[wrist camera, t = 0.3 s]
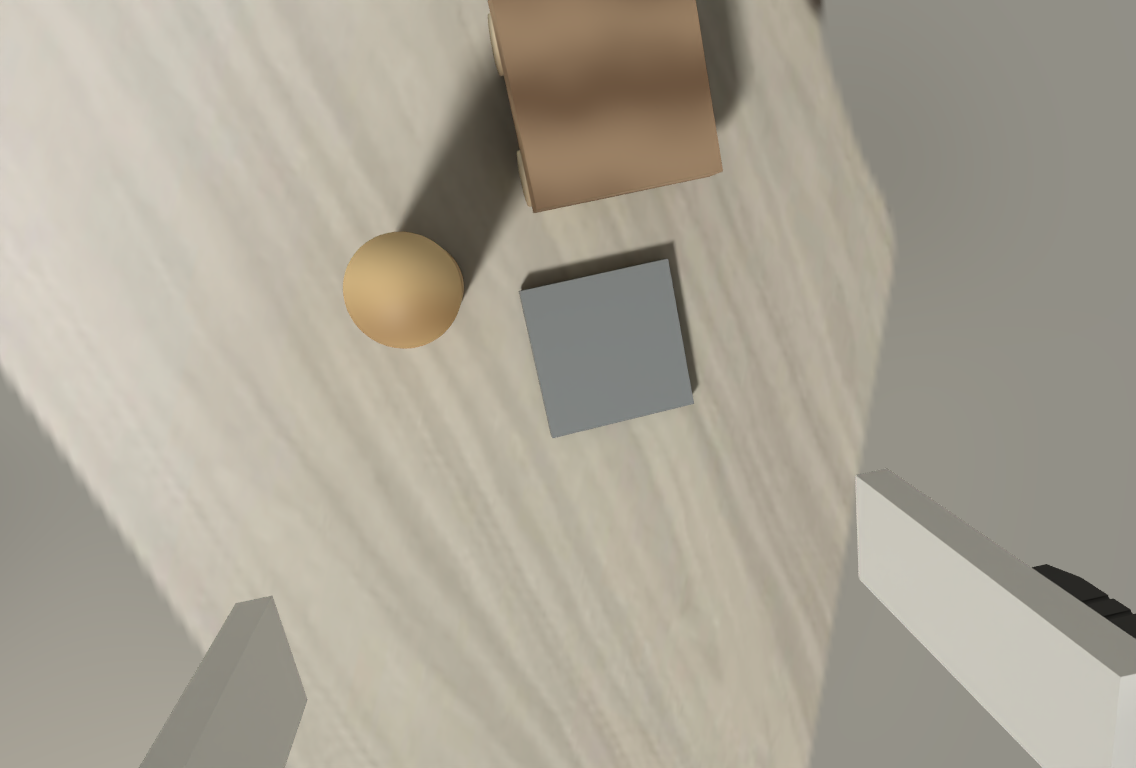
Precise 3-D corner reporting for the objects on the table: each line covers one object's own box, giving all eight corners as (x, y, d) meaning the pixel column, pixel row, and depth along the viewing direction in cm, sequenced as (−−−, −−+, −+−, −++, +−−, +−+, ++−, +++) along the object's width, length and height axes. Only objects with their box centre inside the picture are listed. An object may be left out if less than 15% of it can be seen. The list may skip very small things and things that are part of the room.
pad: (518, 291, 40) (519, 291, 39) (664, 258, 40) (667, 258, 40) (550, 435, 41) (552, 438, 40) (689, 401, 42) (693, 403, 41)
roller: (365, 251, 38) (329, 245, 28) (452, 233, 38) (446, 221, 29) (388, 337, 39) (360, 359, 29) (472, 318, 39) (473, 334, 30)
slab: (485, 16, 37) (487, -23, 32) (658, -15, 38) (686, -58, 33) (528, 217, 39) (537, 209, 34) (692, 183, 40) (722, 171, 35)
